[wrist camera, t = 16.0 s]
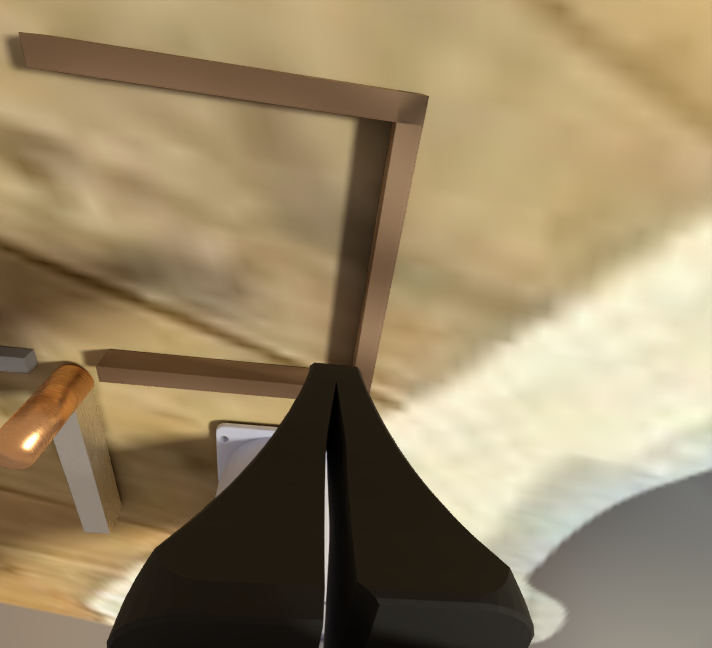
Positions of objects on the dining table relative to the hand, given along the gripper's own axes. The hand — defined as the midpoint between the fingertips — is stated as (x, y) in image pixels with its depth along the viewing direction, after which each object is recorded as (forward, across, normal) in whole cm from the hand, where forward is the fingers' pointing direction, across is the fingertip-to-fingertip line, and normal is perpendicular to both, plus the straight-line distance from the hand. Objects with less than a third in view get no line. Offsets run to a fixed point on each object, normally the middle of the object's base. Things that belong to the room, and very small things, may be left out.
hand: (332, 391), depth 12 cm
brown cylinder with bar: (+9, +14, +14) cm, 21 cm away
